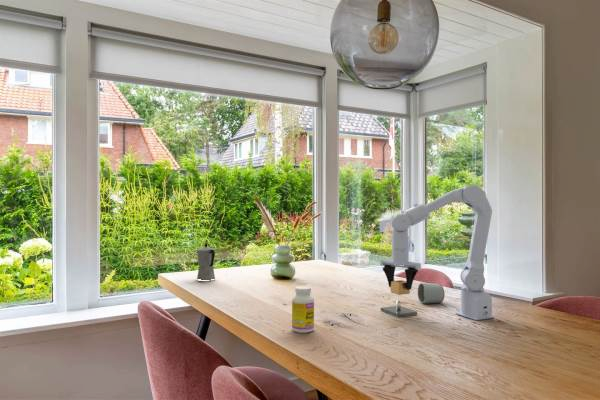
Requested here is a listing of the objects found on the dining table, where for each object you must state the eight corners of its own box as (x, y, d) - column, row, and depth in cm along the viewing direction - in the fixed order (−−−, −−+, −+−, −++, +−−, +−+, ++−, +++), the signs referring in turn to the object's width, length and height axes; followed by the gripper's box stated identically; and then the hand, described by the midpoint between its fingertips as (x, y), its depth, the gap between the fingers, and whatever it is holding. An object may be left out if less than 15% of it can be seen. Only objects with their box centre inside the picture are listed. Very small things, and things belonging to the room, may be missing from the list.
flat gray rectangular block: (417, 314, 153) (417, 302, 153) (398, 317, 150) (398, 305, 150) (399, 308, 162) (399, 297, 162) (380, 310, 159) (380, 299, 159)
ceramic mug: (445, 304, 167) (445, 284, 168) (425, 305, 166) (425, 284, 166) (433, 299, 178) (433, 279, 178) (413, 299, 177) (413, 280, 177)
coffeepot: (191, 279, 223) (191, 242, 223) (208, 277, 228) (208, 241, 228) (204, 283, 210) (204, 245, 210) (223, 281, 216) (222, 244, 216)
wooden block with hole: (409, 293, 155) (409, 282, 155) (398, 294, 153) (398, 283, 153) (401, 291, 159) (401, 280, 159) (390, 292, 157) (390, 281, 157)
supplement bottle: (306, 334, 130) (306, 290, 130) (287, 331, 134) (287, 288, 134) (318, 329, 136) (318, 286, 136) (299, 326, 140) (299, 284, 140)
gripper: (424, 249, 154) (424, 289, 154) (387, 246, 164) (387, 283, 164) (415, 251, 149) (415, 292, 149) (377, 248, 158) (377, 286, 158)
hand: (400, 288), depth 156 cm, fingers closed on wooden block with hole, 6 cm apart
